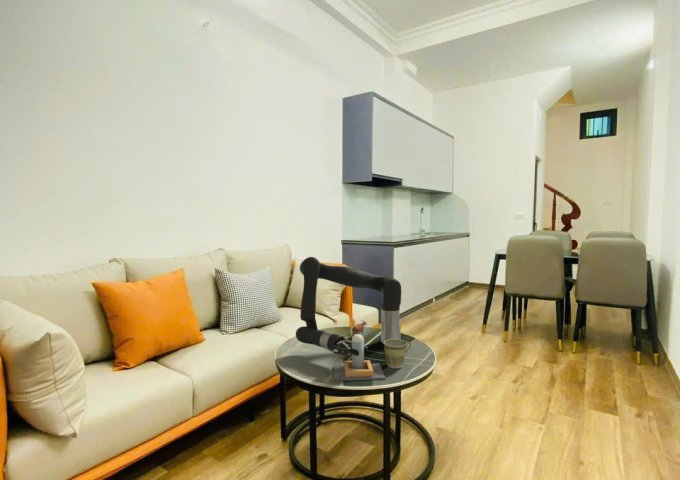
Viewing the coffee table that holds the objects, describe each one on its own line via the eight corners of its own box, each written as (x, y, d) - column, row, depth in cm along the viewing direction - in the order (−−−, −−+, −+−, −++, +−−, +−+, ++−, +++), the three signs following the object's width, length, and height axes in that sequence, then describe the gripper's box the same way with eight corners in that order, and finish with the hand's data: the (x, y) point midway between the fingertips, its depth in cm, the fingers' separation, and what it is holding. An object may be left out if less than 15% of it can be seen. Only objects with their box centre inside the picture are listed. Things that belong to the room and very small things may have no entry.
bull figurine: (368, 334, 203) (368, 319, 203) (356, 341, 192) (356, 325, 192) (361, 333, 206) (361, 318, 205) (349, 339, 194) (349, 324, 194)
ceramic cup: (391, 371, 153) (391, 348, 153) (379, 363, 163) (379, 340, 162) (417, 366, 159) (417, 343, 158) (404, 358, 168) (404, 336, 167)
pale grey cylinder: (363, 364, 155) (363, 332, 154) (364, 369, 150) (364, 336, 149) (351, 364, 155) (351, 332, 154) (352, 369, 150) (352, 336, 149)
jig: (379, 365, 160) (379, 358, 160) (385, 379, 146) (385, 372, 146) (333, 366, 159) (333, 359, 159) (334, 380, 145) (334, 373, 145)
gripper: (320, 337, 156) (351, 347, 145) (343, 329, 167) (373, 338, 155) (320, 355, 157) (351, 365, 145) (343, 346, 167) (373, 355, 156)
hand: (362, 351), depth 150 cm, fingers closed on pale grey cylinder, 5 cm apart
